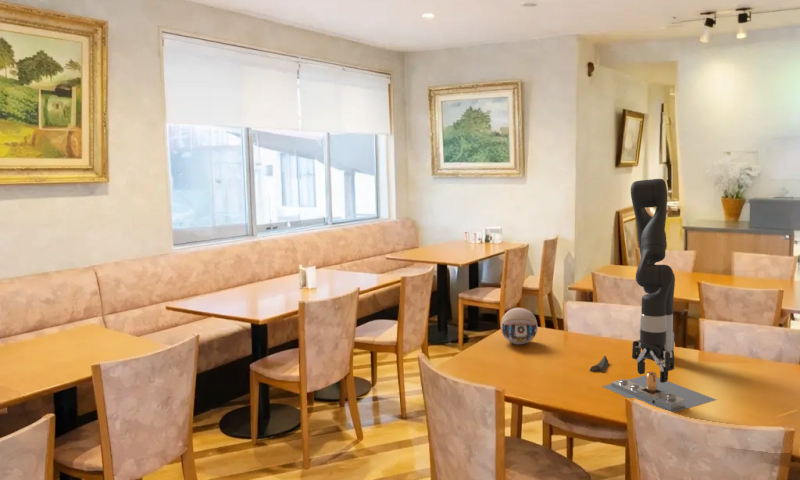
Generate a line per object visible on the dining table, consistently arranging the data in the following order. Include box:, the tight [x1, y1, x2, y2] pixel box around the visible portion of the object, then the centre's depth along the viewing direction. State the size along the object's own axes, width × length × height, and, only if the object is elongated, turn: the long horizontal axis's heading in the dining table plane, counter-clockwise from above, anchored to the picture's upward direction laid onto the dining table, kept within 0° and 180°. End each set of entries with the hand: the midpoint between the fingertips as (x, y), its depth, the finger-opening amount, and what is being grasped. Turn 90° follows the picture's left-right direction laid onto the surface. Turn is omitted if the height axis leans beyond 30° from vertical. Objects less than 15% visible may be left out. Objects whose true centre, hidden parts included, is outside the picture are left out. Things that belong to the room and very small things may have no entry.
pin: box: [646, 371, 658, 394], centre depth 193 cm, size 3×3×8 cm
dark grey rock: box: [589, 355, 609, 373], centre depth 222 cm, size 13×5×4 cm, turn 141°
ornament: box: [500, 307, 538, 345], centre depth 253 cm, size 15×15×15 cm
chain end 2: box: [636, 387, 685, 411], centre depth 190 cm, size 6×13×3 cm, turn 26°
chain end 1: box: [610, 378, 655, 403], centre depth 198 cm, size 6×17×2 cm, turn 26°
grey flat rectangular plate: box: [601, 374, 717, 414], centre depth 197 cm, size 22×26×1 cm
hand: (652, 377), depth 192 cm, fingers open, 8 cm apart
